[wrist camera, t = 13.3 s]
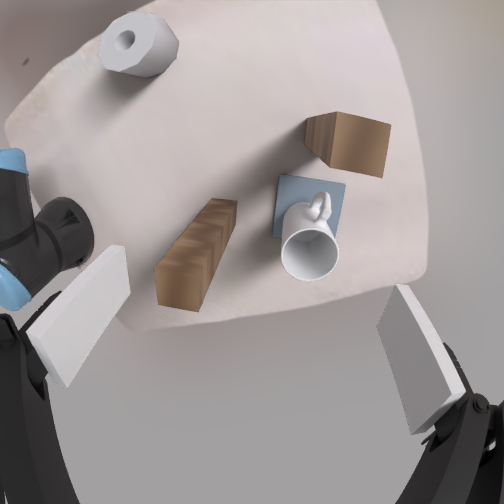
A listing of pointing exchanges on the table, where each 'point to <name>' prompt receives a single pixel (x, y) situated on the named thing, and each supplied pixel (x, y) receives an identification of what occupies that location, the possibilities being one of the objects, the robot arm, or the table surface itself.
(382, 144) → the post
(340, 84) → the table surface
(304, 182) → the mat
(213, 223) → the corner post
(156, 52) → the toilet tissue
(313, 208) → the mug
